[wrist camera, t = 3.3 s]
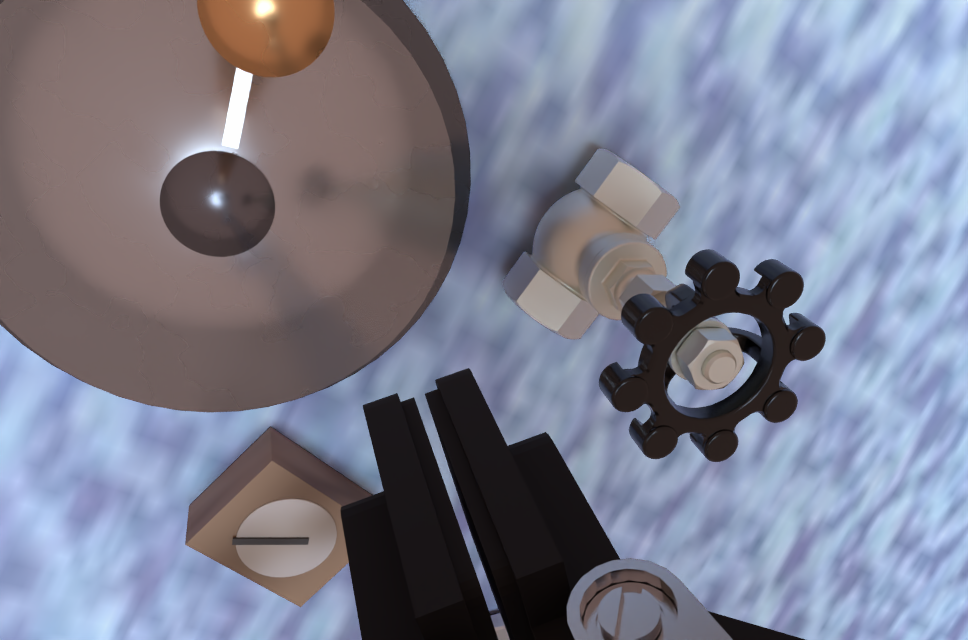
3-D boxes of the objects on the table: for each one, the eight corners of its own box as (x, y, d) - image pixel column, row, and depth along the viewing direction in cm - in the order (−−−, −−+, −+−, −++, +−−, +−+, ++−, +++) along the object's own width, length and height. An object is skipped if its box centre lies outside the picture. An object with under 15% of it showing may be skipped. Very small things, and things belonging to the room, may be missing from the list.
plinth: (558, 177, 31) (563, 181, 31) (248, 478, 33) (248, 485, 33) (178, -251, 22) (177, -255, 22) (-208, 195, 25) (-216, 200, 24)
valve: (460, 254, 32) (565, 414, 21) (558, 114, 30) (721, 213, 20) (579, 326, 35) (722, 497, 24) (673, 202, 33) (869, 327, 23)
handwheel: (531, 184, 30) (636, 280, 22) (245, 462, 32) (245, 643, 24) (182, -196, 22) (146, -266, 14) (-166, 201, 24) (-372, 339, 16)
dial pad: (374, 496, 36) (382, 534, 33) (297, 567, 36) (300, 610, 34) (270, 426, 33) (272, 463, 30) (189, 505, 33) (184, 547, 31)
